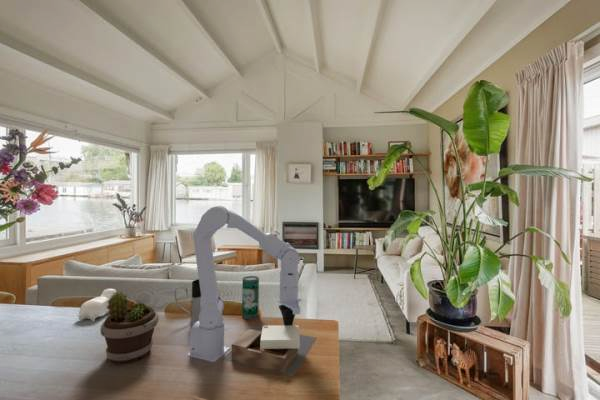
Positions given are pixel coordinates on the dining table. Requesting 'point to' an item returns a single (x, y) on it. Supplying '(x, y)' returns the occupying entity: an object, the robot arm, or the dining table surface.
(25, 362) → the dining table surface
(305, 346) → the desk mat
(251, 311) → the can
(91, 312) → the white figurine
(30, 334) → the dining table surface
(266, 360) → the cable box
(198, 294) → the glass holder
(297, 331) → the lid
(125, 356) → the flowerpot
